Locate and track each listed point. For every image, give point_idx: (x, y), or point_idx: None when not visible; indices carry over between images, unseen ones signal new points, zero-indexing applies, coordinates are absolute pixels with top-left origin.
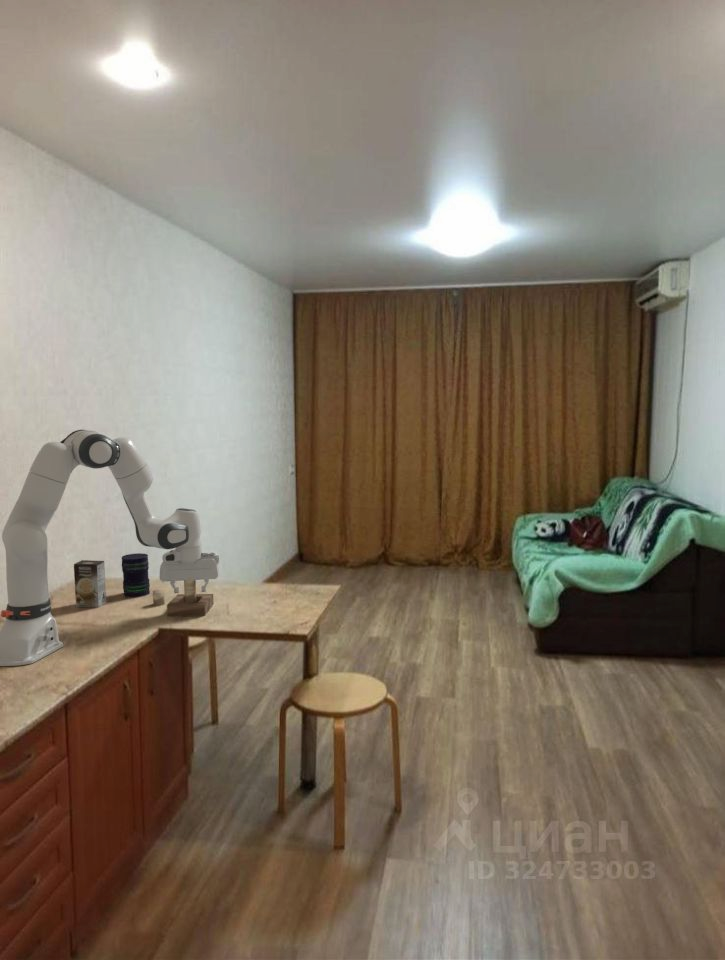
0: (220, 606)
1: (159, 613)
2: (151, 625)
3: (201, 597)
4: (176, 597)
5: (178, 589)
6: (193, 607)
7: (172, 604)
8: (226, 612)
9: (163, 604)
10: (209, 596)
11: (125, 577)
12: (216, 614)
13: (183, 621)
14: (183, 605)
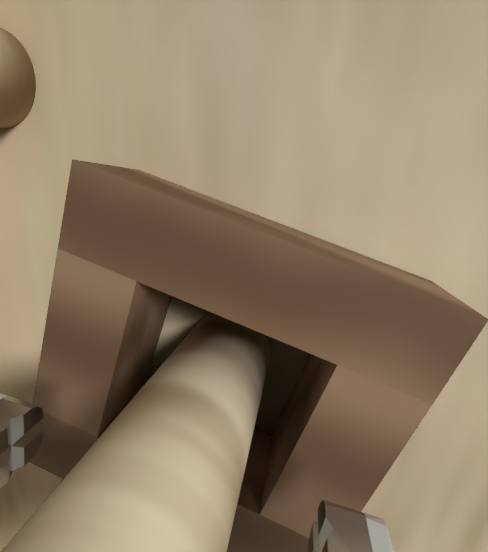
0: (474, 356)
1: (36, 326)
2: (29, 500)
3: (320, 350)
4: (72, 284)
5: (7, 448)
6: None
7: (61, 472)
8: (467, 514)
9: (29, 109)
10: (409, 403)
11: None
12: (384, 516)
13: None
14: None
